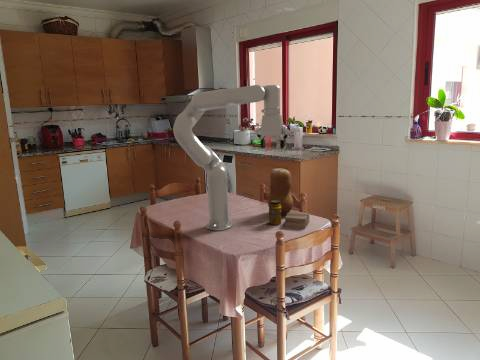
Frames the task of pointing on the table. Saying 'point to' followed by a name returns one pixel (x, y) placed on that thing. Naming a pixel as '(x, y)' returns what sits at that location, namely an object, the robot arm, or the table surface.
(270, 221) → the condiment
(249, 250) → the table surface
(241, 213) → the table surface
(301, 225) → the beige square block
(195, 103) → the robot arm
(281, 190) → the butternut squash
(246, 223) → the table surface
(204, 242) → the table surface
